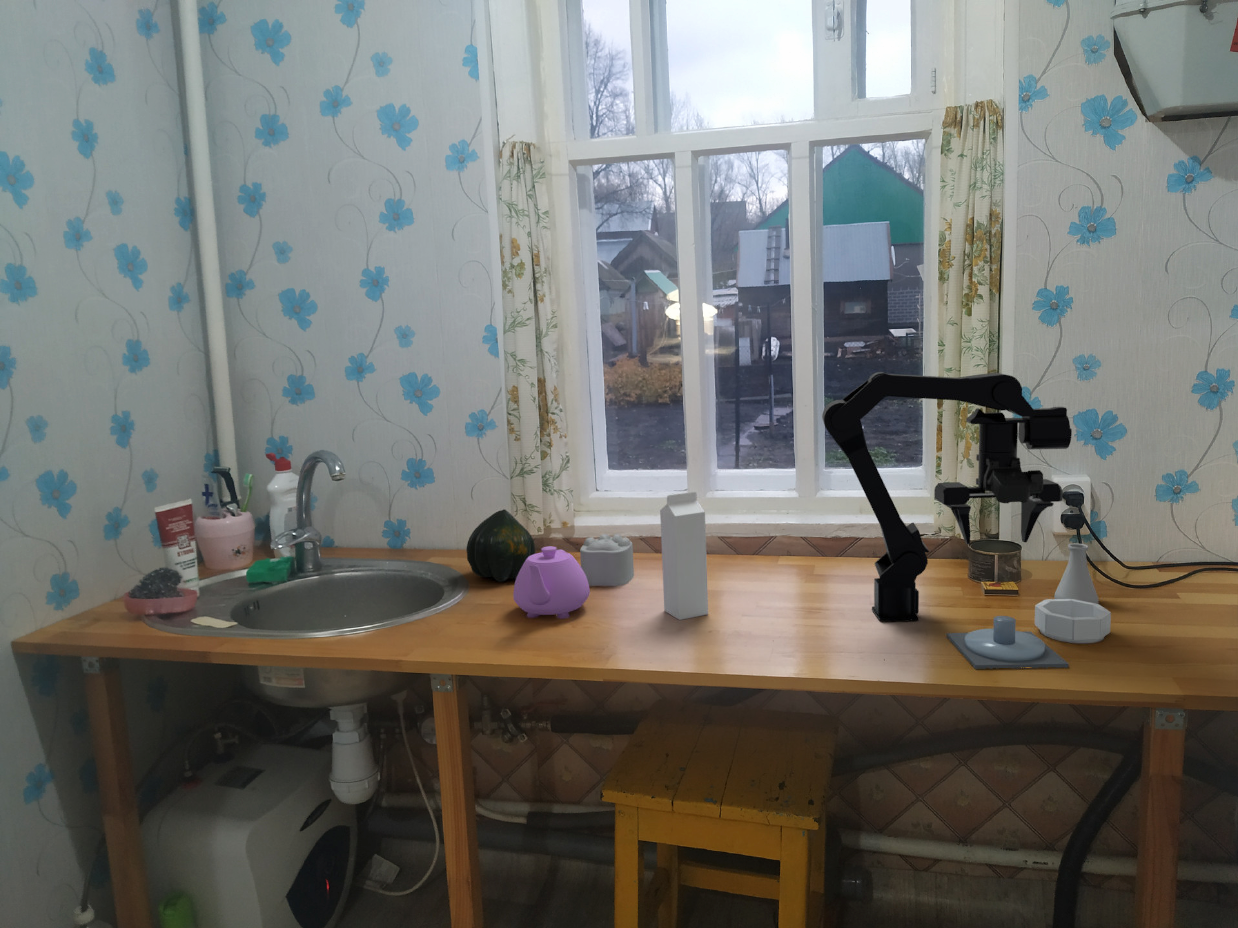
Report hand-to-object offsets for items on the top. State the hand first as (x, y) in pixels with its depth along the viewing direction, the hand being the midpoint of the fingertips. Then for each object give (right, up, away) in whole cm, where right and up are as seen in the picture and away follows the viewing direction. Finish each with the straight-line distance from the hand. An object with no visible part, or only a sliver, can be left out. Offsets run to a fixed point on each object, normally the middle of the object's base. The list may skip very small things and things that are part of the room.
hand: (995, 542), depth 138 cm
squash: (-88, -11, +41) cm, 98 cm away
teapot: (-75, -15, +16) cm, 79 cm away
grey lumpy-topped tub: (-65, -11, +37) cm, 76 cm away
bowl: (+9, -14, -7) cm, 18 cm away
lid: (-4, -15, -13) cm, 20 cm away
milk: (-51, -14, +12) cm, 54 cm away
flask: (+18, -11, +9) cm, 23 cm away
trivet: (-4, -15, -13) cm, 20 cm away
